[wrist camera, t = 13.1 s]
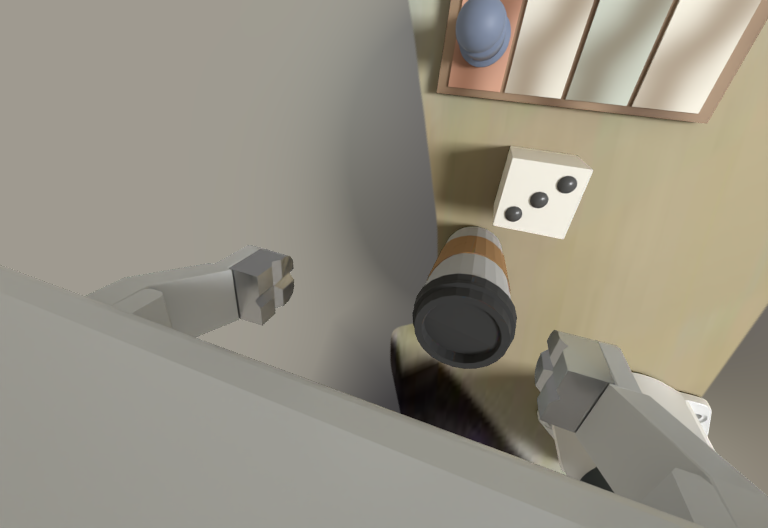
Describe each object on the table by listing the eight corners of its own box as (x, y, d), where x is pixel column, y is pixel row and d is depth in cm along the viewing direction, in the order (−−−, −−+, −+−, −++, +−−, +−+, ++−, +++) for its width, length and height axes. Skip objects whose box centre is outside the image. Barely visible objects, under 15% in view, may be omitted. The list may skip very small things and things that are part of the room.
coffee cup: (489, 290, 39) (484, 388, 26) (427, 262, 39) (394, 344, 27) (526, 234, 34) (542, 321, 22) (454, 204, 35) (430, 271, 22)
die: (577, 155, 29) (593, 170, 24) (553, 215, 32) (563, 239, 27) (510, 145, 30) (512, 158, 25) (493, 204, 34) (492, 225, 28)
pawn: (517, 49, 26) (525, 34, 18) (470, 77, 28) (460, 74, 20) (500, -4, 25) (500, -44, 17) (452, 29, 26) (433, 6, 19)
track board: (777, -14, 21) (790, -18, 20) (700, 122, 25) (708, 123, 24) (456, -24, 26) (454, -28, 25) (438, 92, 30) (436, 92, 29)
